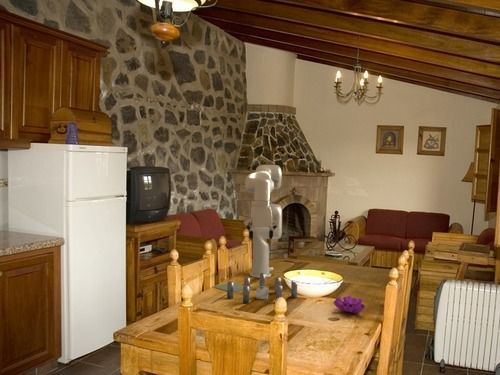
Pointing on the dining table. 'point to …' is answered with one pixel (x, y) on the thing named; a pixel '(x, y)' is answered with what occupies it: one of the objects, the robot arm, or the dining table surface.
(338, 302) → the purple knobbly lump
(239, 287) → the rubber mat
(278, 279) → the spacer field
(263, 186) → the robot arm
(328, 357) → the dining table surface
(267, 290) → the hex nut
